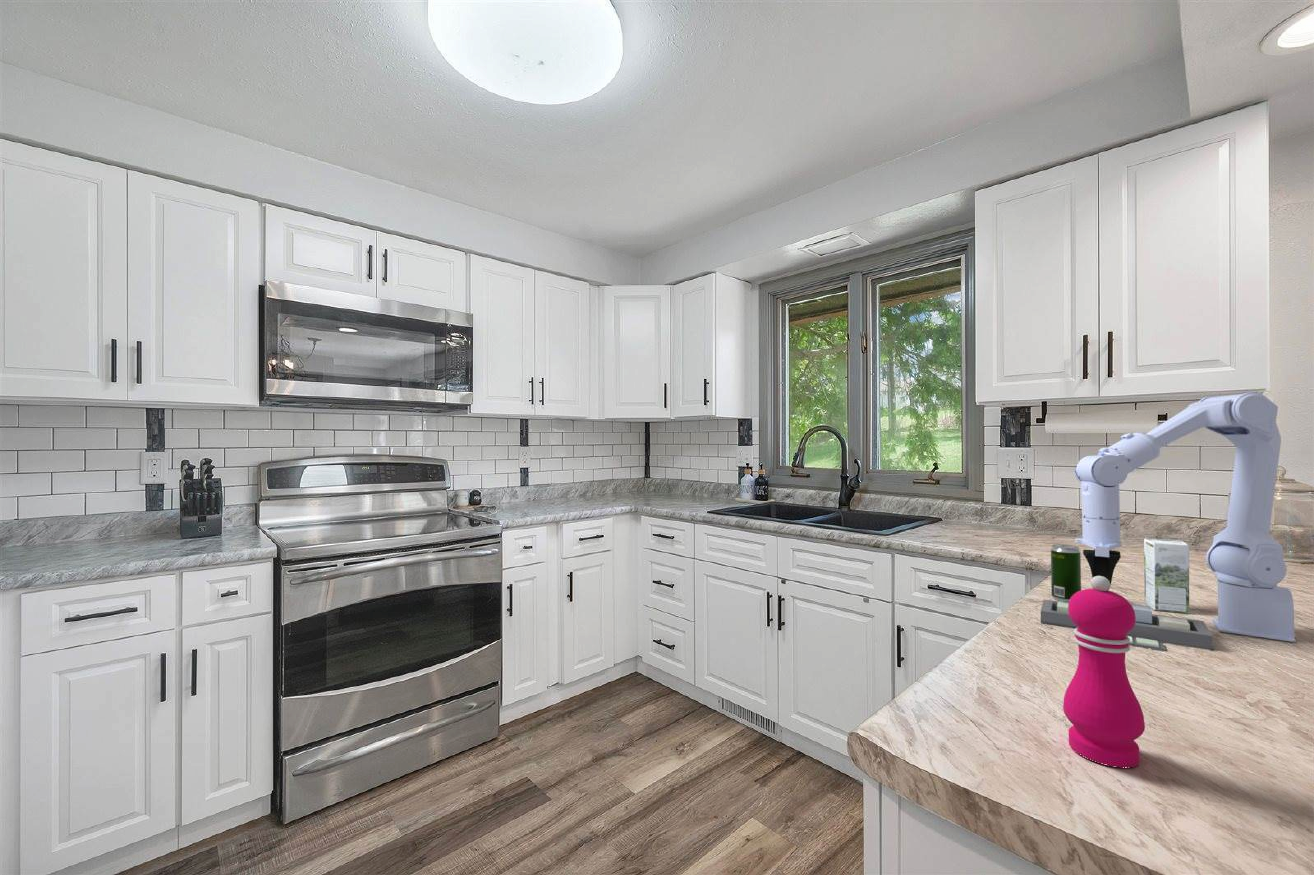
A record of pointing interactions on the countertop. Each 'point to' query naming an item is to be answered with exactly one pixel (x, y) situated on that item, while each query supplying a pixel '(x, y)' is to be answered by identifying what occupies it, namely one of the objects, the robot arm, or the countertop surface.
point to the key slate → (1142, 613)
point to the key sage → (1062, 607)
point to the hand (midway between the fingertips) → (1102, 588)
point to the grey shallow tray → (1141, 628)
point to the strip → (1146, 643)
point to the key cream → (1173, 622)
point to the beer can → (1065, 571)
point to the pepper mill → (1103, 679)
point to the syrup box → (1166, 575)
